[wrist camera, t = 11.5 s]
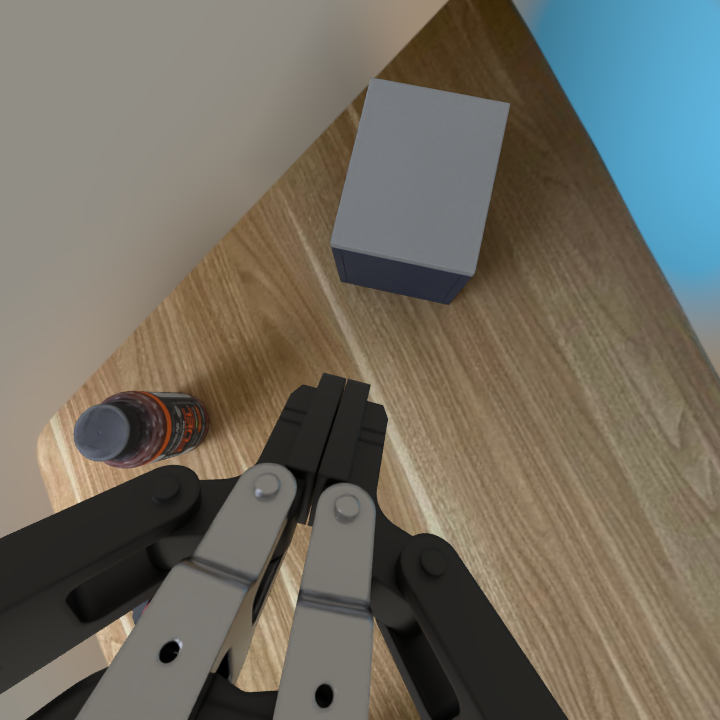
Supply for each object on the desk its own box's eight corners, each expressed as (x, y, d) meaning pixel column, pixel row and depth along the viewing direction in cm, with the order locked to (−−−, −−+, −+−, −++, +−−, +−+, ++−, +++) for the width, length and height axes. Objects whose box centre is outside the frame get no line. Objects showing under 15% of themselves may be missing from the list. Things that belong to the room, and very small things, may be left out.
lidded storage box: (369, 161, 39) (368, 94, 30) (474, 182, 39) (505, 119, 30) (340, 281, 38) (330, 247, 29) (448, 305, 38) (472, 277, 29)
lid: (370, 85, 31) (370, 76, 30) (507, 110, 30) (510, 102, 29) (330, 247, 29) (329, 243, 29) (472, 277, 29) (475, 273, 28)
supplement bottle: (212, 451, 37) (142, 476, 26) (152, 455, 37) (56, 481, 26) (211, 390, 37) (142, 387, 26) (152, 394, 38) (58, 393, 26)
